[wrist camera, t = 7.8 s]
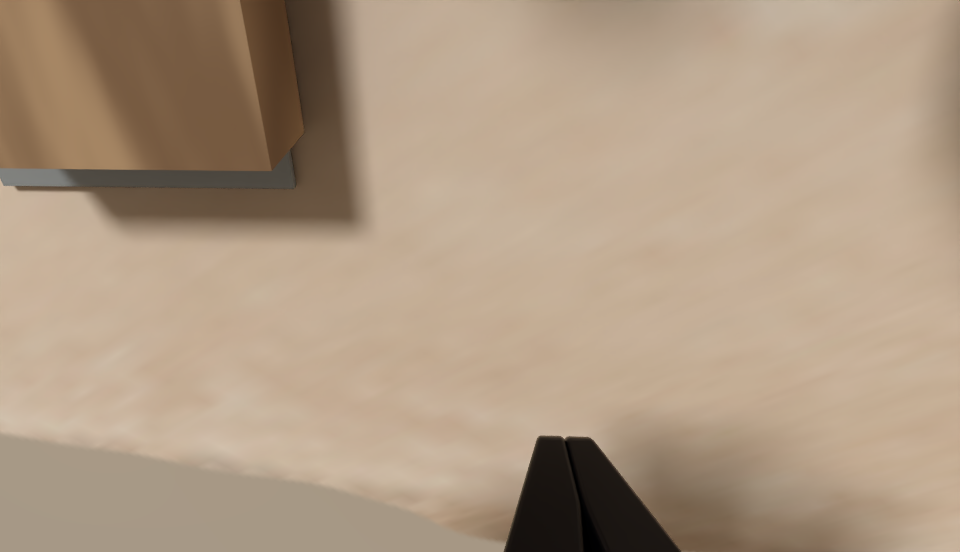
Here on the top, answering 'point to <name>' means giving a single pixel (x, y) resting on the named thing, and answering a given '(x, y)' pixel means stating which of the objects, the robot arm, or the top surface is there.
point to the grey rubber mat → (154, 177)
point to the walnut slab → (147, 85)
